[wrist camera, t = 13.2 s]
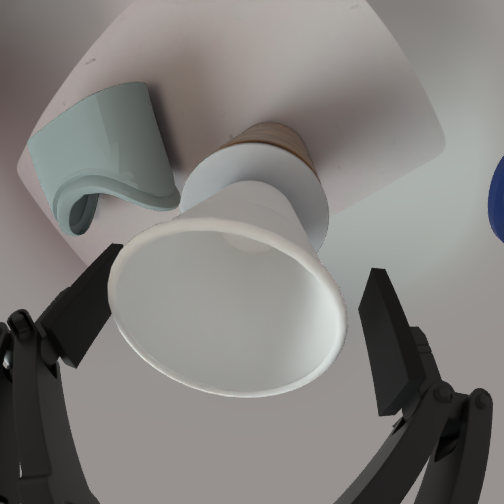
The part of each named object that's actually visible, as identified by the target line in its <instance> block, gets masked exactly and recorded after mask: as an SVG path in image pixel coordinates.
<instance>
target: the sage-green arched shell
mask: <svg viewBox="0 0 504 504" xmlns="http://www.w3.org/2000/svg"><path fill="white" fill-rule="evenodd" d="M27 144H28V148H29V151H30V154H31V158H32V161H33V164H34V167H35V170H36V173H37V176H38V178H39V181H40V184H41V186H42V189H43V191H44V194H45V196H46V198H47V201H48V203H49V205H50V209H51V212H52V214H53V216H54V218H55V219H56V221H57V222H58V223H59V226H60V228H61V230H62V232H64V233H65V234H66V235H70V236H79V235H82V234H84V233H85V232H86V231H87V230H88V228H89V226H90V224H91V222H92V220H93V217H94V213H95V210H96V206H97V202H98V197H99V193H106V194H110V195H113V196H116V197H119V198H121V199H124V200H126V201H128V202H131V203H133V204H136V205H138V206H141V207H144V208H147V209H150V210H154V211H170V210H173V209H175V208H177V207H178V205H179V204H180V199H181V196H180V193H179V191H178V189H177V187H176V186H175V182H174V177H173V173H172V170H171V167H170V164H169V160H168V157H167V154H166V151H165V148H164V144H163V141H162V138H161V135H160V132H159V129H158V125H157V122H156V119H155V115H154V112H153V108H152V104H151V101H150V97H149V93H148V90H147V86H146V83H143V82H131V83H124V84H119V85H116V86H112V87H109V88H106V89H104V90H101V91H99V92H97V93H95V94H93V95H91V96H89V97H87V98H85V99H83V100H82V101H80V102H78V103H77V104H75V105H74V106H72V107H71V108H69V109H68V110H66V111H65V112H63V113H62V114H61V115H59V116H58V117H56V118H55V119H54V120H52V121H51V122H50V123H48V124H47V125H46V126H44V127H43V128H42V129H41V130H39V131H38V132H37V133H36V134H35V135H34V136H33V137H31V138H30V140H29V141H28V143H27Z"/></svg>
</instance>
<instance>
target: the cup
mask: <svg viewBox="0 0 504 504" xmlns="http://www.w3.org/2000/svg"><path fill="white" fill-rule="evenodd" d="M108 302H109V305H110V309H111V313H112V316H113V319H114V321H115V322H116V325H117V326H118V329H119V331H120V333H121V334H122V335H123V337H124V338H125V339H126V341H127V342H128V343H129V345H130V346H131V347H132V348H133V349H134V350H135V351H136V352H137V353H138V354H139V355H140V356H141V357H142V358H143V359H144V360H145V361H146V362H148V363H149V364H150V365H152V366H153V367H154V368H156V369H157V370H158V371H160V372H162V373H163V374H165V375H166V376H168V377H170V378H172V379H174V380H176V381H178V382H180V383H182V384H184V385H187V386H189V387H192V388H195V389H198V390H201V391H204V392H208V393H212V394H217V395H223V396H231V397H242V398H247V397H265V396H271V395H277V394H281V393H285V392H288V391H291V390H295V389H297V388H299V387H301V386H304V385H306V384H308V383H310V382H312V381H313V380H314V379H316V378H317V377H318V376H320V375H321V374H322V373H324V372H325V371H326V370H327V369H328V368H329V367H330V366H331V365H332V364H333V362H334V361H335V360H336V359H337V357H338V355H339V353H340V351H341V350H342V348H343V346H344V343H345V339H346V335H347V330H348V318H347V307H346V304H345V301H344V298H343V296H342V293H341V290H340V288H339V286H338V285H337V283H336V282H335V280H334V279H333V278H332V276H331V275H330V273H329V272H328V271H327V269H326V268H325V267H324V266H323V265H322V264H321V262H320V261H319V259H318V257H317V254H316V252H315V250H314V248H313V246H312V244H311V243H310V241H309V239H308V237H307V235H306V233H305V231H304V229H303V227H302V225H301V223H300V221H299V219H298V217H297V215H296V213H295V211H294V209H293V207H292V205H291V204H290V202H289V201H288V199H287V198H286V197H285V195H284V194H282V193H281V192H280V191H279V190H278V189H276V188H275V187H273V186H271V185H269V184H266V183H263V182H260V181H253V180H250V181H240V182H236V183H233V184H231V185H229V186H227V187H225V188H223V189H222V190H220V191H218V192H217V193H215V194H213V195H212V196H210V197H208V198H206V199H205V200H203V201H202V202H200V203H198V204H196V205H195V206H193V207H192V208H190V209H188V210H187V211H185V212H183V213H181V214H180V215H178V216H177V217H175V218H173V219H172V220H170V221H167V222H163V223H160V224H156V225H154V226H152V227H150V228H148V229H147V230H145V231H143V232H141V233H139V234H138V235H136V236H134V237H133V238H132V239H131V240H130V241H129V242H128V243H127V244H126V245H125V246H124V247H123V248H122V249H121V250H120V252H119V254H118V256H117V257H116V259H115V261H114V263H113V265H112V267H111V271H110V275H109V280H108Z"/></svg>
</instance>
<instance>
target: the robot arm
mask: <svg viewBox="0 0 504 504" xmlns="http://www.w3.org/2000/svg"><path fill="white" fill-rule="evenodd" d="M122 248H123V244H113V243H112V244H111V245H110V246H109V247H108V248H107V249H106V250H105V251H104V252H103V253H102V254H101V255H100V256H99V257H98V258H97V259H96V260H95V261H94V262H93V263H92V264H91V265H90V266H89V267H88V268H87V269H86V270H85V271H84V273H82V275H81V276H80V277H79V278H78V279H77V280H76V281H75V282H74V283H73V284H72V285H71V287H68V288H66V289H65V290H63V291H62V292H60V294H59V295H58V296H57V297H56V298H55V300H54V301H52V303H51V304H50V305H49V306H48V307H47V309H46V310H45V311H44V312H43V313H42V315H41V316H40V317H39V318H38V319H37V321H36V322H35V323H34V322H33V320H32V318H31V316H30V315H29V313H28V312H27V310H25V309H20V310H17V311H15V312H14V313H12V314H11V315H10V317H9V318H8V320H7V323H8V325H9V327H10V329H11V330H9V329H8V327H7V325H6V324H5V323H3V322H0V504H20V503H21V504H100V503H99V501H98V500H97V498H96V497H95V496H94V495H93V494H92V493H91V491H90V490H89V487H88V485H87V482H86V479H85V477H84V474H83V471H82V468H81V465H80V462H79V458H78V455H77V452H76V448H75V445H74V441H73V438H72V433H71V430H70V425H69V420H68V416H67V411H66V406H65V401H64V394H63V388H62V382H61V374H60V366H59V363H58V361H57V360H58V358H59V357H61V359H62V360H63V362H64V363H65V364H66V365H69V366H71V367H74V368H77V367H78V365H79V363H80V362H81V360H82V359H83V357H84V355H85V354H86V352H87V351H88V349H89V347H90V346H91V344H92V343H93V341H94V340H95V338H96V337H97V335H98V334H99V332H100V330H101V329H102V327H103V326H104V324H105V323H106V321H107V320H108V319H109V317H110V316H111V314H112V313H111V309H110V305H109V302H108V280H109V275H110V271H111V267H112V265H113V263H114V261H115V259H116V257H117V256H118V254H119V252H120V250H121V249H122ZM358 310H359V315H360V319H361V323H362V327H363V332H364V336H365V341H366V345H367V350H368V355H369V360H370V366H371V371H372V376H373V382H374V387H375V394H376V400H377V407H378V414H379V416H390V415H395V414H396V413H397V412H398V411H399V410H400V409H401V408H402V413H403V416H402V417H401V418H400V419H399V420H398V421H397V422H396V423H395V424H394V425H393V427H394V429H393V430H392V432H391V433H390V435H389V436H388V438H387V439H386V441H385V442H384V444H383V445H382V446H381V448H380V449H379V451H378V452H377V453H376V455H375V456H374V457H373V459H372V460H371V461H370V462H369V464H368V465H367V466H366V467H365V469H364V470H363V471H362V472H361V474H360V475H359V476H358V477H357V479H356V480H355V481H354V482H353V483H352V484H351V485H350V487H349V488H348V489H347V490H346V491H345V492H344V493H343V494H342V495H341V496H340V497H339V498H338V500H337V501H336V502H335V503H334V504H400V503H401V502H402V500H403V499H404V497H405V496H406V494H407V493H408V491H409V490H410V488H411V487H412V485H413V484H414V482H415V481H416V479H417V477H418V476H419V474H420V472H421V471H422V469H423V467H424V465H425V464H426V462H427V460H428V458H429V456H430V458H429V462H428V465H427V468H426V471H425V475H424V477H423V480H422V484H421V486H420V489H419V492H418V494H417V497H416V499H415V502H414V504H478V501H479V497H480V493H481V490H482V485H483V481H484V476H485V471H486V466H487V460H488V454H489V446H490V438H491V428H492V413H493V402H492V398H491V396H490V394H489V393H488V392H487V391H486V390H484V389H482V388H477V389H475V390H474V391H473V392H472V393H471V394H470V395H467V394H461V393H456V392H455V391H454V390H453V388H452V386H451V385H449V384H448V383H447V382H444V381H442V379H441V377H440V373H439V371H438V368H437V365H436V362H435V359H434V356H433V354H432V353H431V352H432V351H431V348H430V346H429V343H428V341H427V338H426V336H425V334H424V333H423V332H422V331H421V329H420V328H419V327H409V324H408V322H407V319H406V316H405V314H404V311H403V309H402V306H401V304H400V302H399V299H398V297H397V294H396V292H395V290H394V288H393V285H392V283H391V281H390V279H389V276H388V274H387V272H386V270H385V269H379V268H372V269H371V272H370V275H369V278H368V281H367V285H366V288H365V291H364V294H363V297H362V300H361V303H360V306H359V308H358ZM4 361H5V362H6V363H7V364H8V366H7V368H5V367H4V366H3V362H4ZM20 465H21V470H22V477H21V478H20Z"/></svg>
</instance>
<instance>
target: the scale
mask: <svg viewBox="0 0 504 504" xmlns="http://www.w3.org/2000/svg"><path fill="white" fill-rule="evenodd" d="M250 180H253V181H260V182H263V183H266V184H269V185H271V186H273V187H275V188H276V189H278V190H279V191H280V192H281V193H282V194H284V195H285V197H286V198H287V199H288V201H289V202H290V204H291V205H292V207H293V209H294V211H295V213H296V215H297V217H298V219H299V221H300V223H301V225H302V227H303V229H304V231H305V233H306V235H307V237H308V239H309V241H310V243H311V244H312V246H313V248H314V250H315V252H316V254H317V252H318V251H319V249H320V247H321V246H322V244H323V241H324V239H325V237H326V233H327V229H328V222H329V208H328V203H327V198H326V196H325V193H324V190H323V187H322V185H321V184H320V182H319V180H318V178H317V177H316V175H315V174H314V173H313V171H312V170H311V169H310V168H309V167H308V166H307V165H306V164H305V163H304V162H303V161H302V160H301V159H299V158H298V157H297V156H295V155H294V154H292V153H291V152H289V151H287V150H285V149H283V148H281V147H278V146H275V145H271V144H267V143H259V142H249V143H241V144H235V145H231V146H228V147H225V148H223V149H220V150H218V151H216V152H214V153H213V154H211V155H210V156H208V157H207V158H205V159H204V160H203V161H202V162H201V163H200V164H198V165H197V167H196V168H195V169H194V170H193V171H192V173H191V174H190V176H189V177H188V179H187V181H186V183H185V185H184V188H183V191H182V194H181V199H180V214H181V213H183V212H185V211H187V210H188V209H190V208H192V207H193V206H195V205H196V204H198V203H200V202H202V201H203V200H205V199H206V198H208V197H210V196H212V195H213V194H215V193H217V192H218V191H220V190H222V189H223V188H225V187H227V186H229V185H231V184H233V183H236V182H240V181H250Z"/></svg>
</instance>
